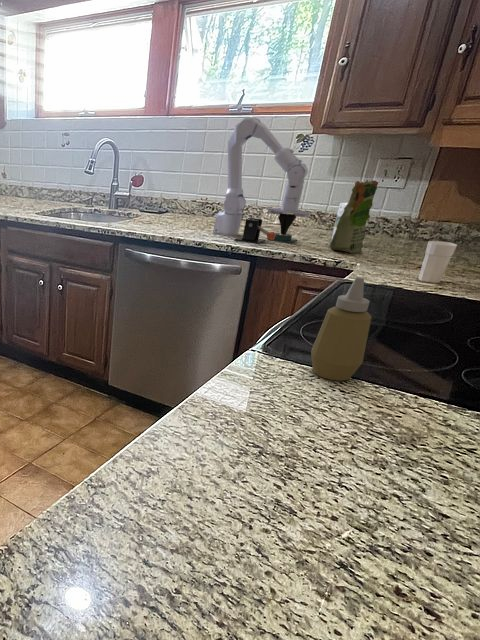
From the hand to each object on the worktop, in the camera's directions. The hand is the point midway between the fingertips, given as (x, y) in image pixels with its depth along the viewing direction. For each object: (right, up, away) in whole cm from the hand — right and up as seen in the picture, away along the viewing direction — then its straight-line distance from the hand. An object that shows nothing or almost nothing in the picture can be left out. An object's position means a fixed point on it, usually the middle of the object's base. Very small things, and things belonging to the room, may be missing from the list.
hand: (283, 234), depth 203 cm
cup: (+17, -25, -48) cm, 57 cm away
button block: (0, -3, +1) cm, 3 cm away
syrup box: (+25, -2, +5) cm, 26 cm away
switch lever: (-11, 0, -3) cm, 11 cm away
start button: (0, -2, +1) cm, 2 cm away
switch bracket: (-13, -3, 0) cm, 13 cm away
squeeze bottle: (-50, -52, -108) cm, 130 cm away
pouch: (+16, -9, -12) cm, 22 cm away
